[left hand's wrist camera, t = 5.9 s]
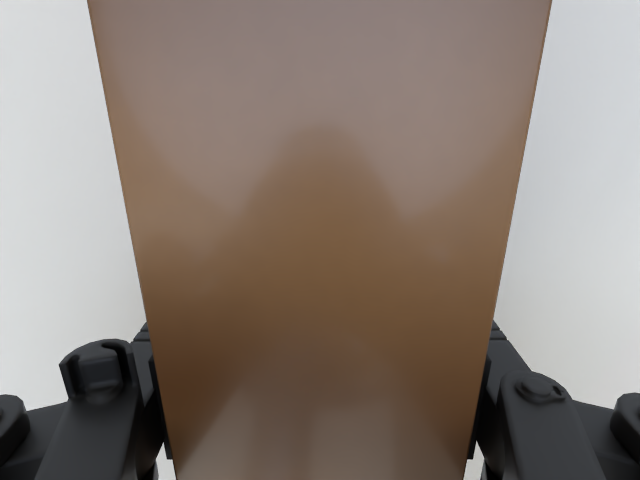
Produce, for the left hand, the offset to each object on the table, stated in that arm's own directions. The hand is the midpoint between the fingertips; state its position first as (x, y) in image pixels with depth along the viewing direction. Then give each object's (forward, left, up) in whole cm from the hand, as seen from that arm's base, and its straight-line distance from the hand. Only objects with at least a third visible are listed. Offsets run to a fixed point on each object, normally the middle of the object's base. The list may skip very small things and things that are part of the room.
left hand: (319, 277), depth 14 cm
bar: (+23, -10, -1) cm, 25 cm away
